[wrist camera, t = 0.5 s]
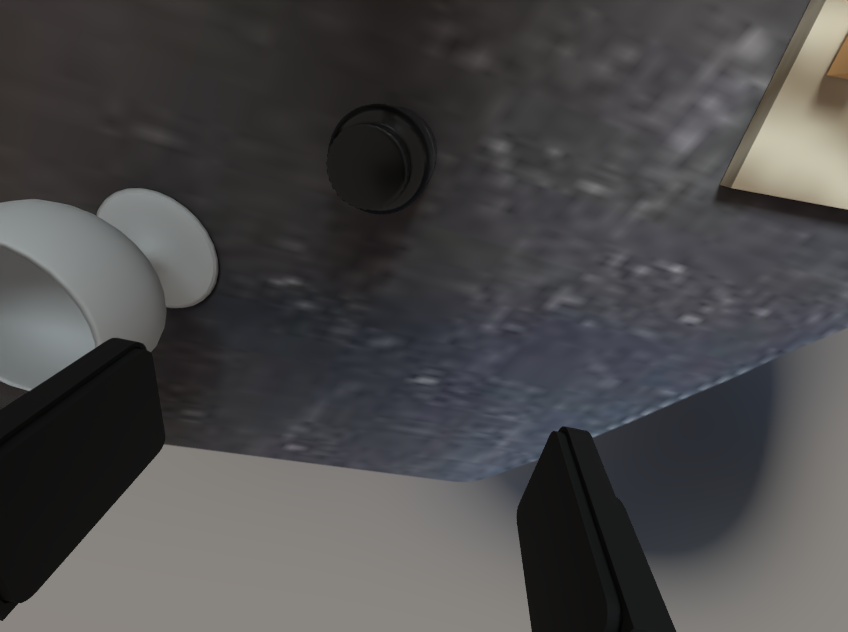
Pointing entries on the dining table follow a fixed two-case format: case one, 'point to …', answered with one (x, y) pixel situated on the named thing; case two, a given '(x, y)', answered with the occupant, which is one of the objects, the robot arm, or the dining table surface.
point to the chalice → (94, 277)
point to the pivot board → (801, 119)
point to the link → (840, 63)
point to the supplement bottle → (381, 158)
